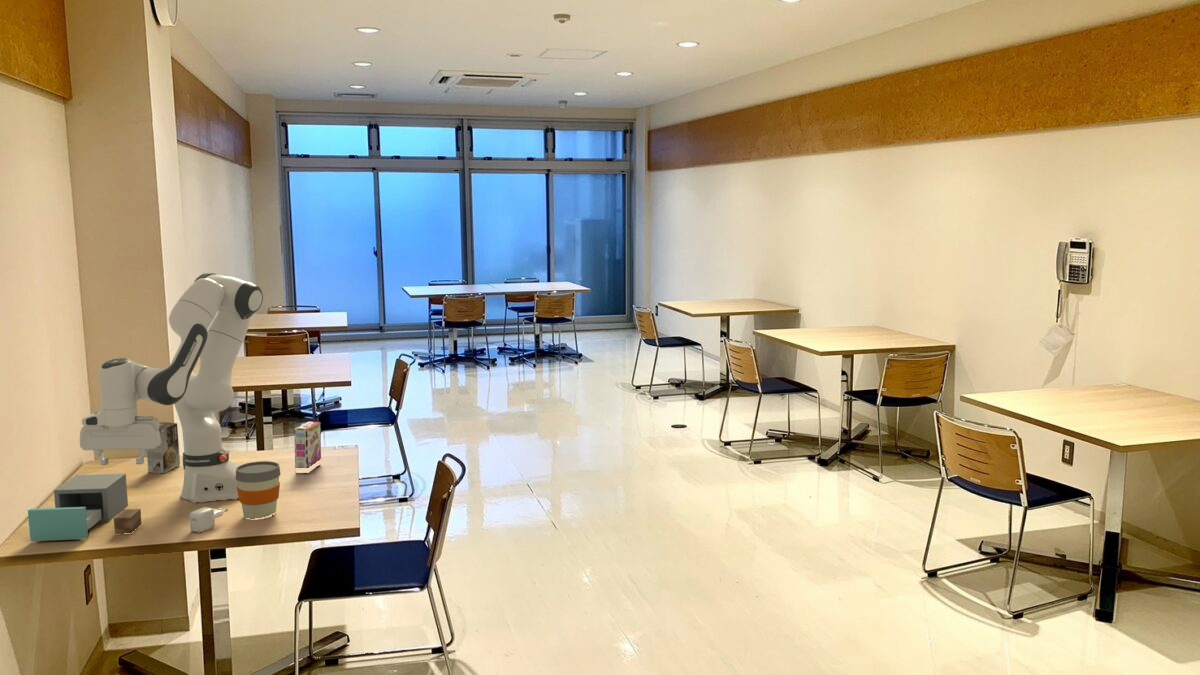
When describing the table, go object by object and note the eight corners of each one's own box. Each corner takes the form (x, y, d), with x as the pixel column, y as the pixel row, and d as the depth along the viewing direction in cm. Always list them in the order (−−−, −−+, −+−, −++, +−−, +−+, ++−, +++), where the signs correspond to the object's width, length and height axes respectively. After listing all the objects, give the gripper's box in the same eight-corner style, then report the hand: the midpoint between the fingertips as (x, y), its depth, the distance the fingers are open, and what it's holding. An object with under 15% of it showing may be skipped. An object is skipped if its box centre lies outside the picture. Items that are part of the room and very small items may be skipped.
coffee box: (164, 465, 295) (161, 421, 292) (180, 466, 294) (178, 422, 291) (147, 472, 286) (144, 428, 283) (164, 474, 285) (161, 428, 283)
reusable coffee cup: (232, 513, 249) (230, 465, 247) (275, 504, 257) (273, 458, 254) (243, 525, 239) (241, 476, 237) (287, 516, 247) (285, 468, 245)
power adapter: (218, 518, 244) (217, 499, 243) (231, 521, 243) (230, 502, 242) (188, 531, 234) (186, 512, 233) (201, 534, 232) (200, 514, 231)
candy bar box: (308, 474, 287) (306, 429, 285) (294, 474, 287) (293, 428, 285) (322, 465, 298) (321, 421, 296) (309, 464, 298) (307, 420, 296)
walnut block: (141, 525, 238) (140, 508, 238) (132, 534, 232) (130, 517, 231) (124, 525, 238) (123, 509, 237) (114, 535, 231) (113, 518, 230)
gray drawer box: (128, 505, 254) (125, 473, 252) (108, 521, 240) (106, 488, 239) (78, 507, 252) (76, 475, 250) (56, 523, 238) (53, 490, 237)
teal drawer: (107, 520, 240) (105, 491, 238) (86, 538, 226) (83, 508, 225) (55, 522, 237) (53, 493, 236) (30, 541, 224) (27, 510, 222)
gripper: (163, 413, 235) (165, 460, 237) (86, 414, 232) (89, 461, 234) (154, 418, 228) (157, 466, 230) (75, 419, 225) (78, 468, 227)
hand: (122, 464), depth 232 cm, fingers open, 8 cm apart
